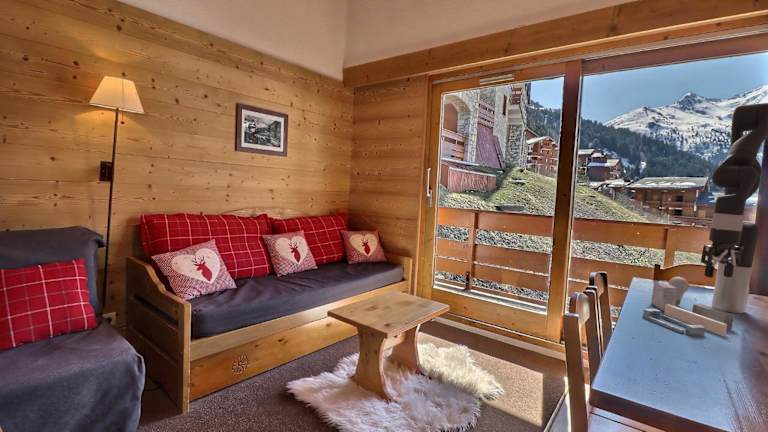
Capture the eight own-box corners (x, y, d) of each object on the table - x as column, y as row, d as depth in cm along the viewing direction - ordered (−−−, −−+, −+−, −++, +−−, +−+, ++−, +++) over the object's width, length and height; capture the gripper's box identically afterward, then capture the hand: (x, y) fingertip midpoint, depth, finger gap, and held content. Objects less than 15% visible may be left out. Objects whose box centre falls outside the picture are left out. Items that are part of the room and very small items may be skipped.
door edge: (667, 314, 133) (669, 304, 133) (725, 335, 116) (727, 324, 116) (664, 314, 133) (665, 304, 132) (721, 335, 116) (723, 324, 115)
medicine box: (675, 312, 136) (678, 288, 135) (661, 310, 137) (664, 287, 136) (663, 305, 144) (667, 282, 143) (650, 303, 145) (653, 281, 144)
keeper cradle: (657, 315, 131) (658, 308, 130) (707, 335, 115) (709, 327, 115) (639, 316, 129) (640, 309, 128) (688, 336, 113) (689, 328, 113)
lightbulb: (681, 304, 147) (686, 276, 146) (688, 309, 141) (693, 280, 140) (663, 301, 149) (667, 274, 148) (669, 306, 143) (673, 277, 142)
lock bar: (698, 318, 132) (700, 304, 131) (731, 329, 122) (733, 314, 122) (691, 318, 131) (693, 304, 130) (723, 330, 121) (725, 314, 121)
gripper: (728, 227, 129) (721, 274, 130) (697, 225, 125) (690, 274, 127) (755, 230, 122) (747, 280, 123) (723, 229, 118) (714, 280, 119)
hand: (718, 277), depth 125 cm, fingers open, 8 cm apart
